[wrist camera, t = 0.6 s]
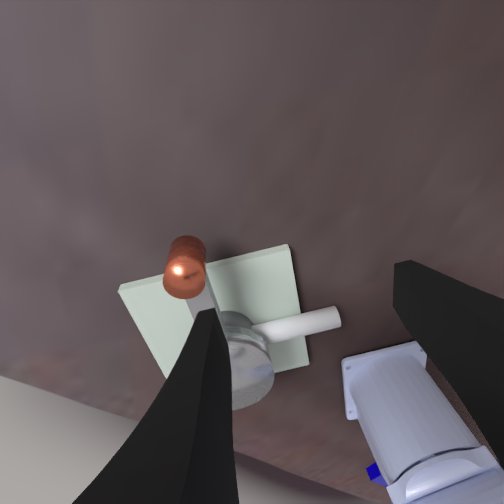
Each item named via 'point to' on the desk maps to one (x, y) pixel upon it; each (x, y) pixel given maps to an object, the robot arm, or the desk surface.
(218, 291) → the base
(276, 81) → the desk surface
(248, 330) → the key lever
